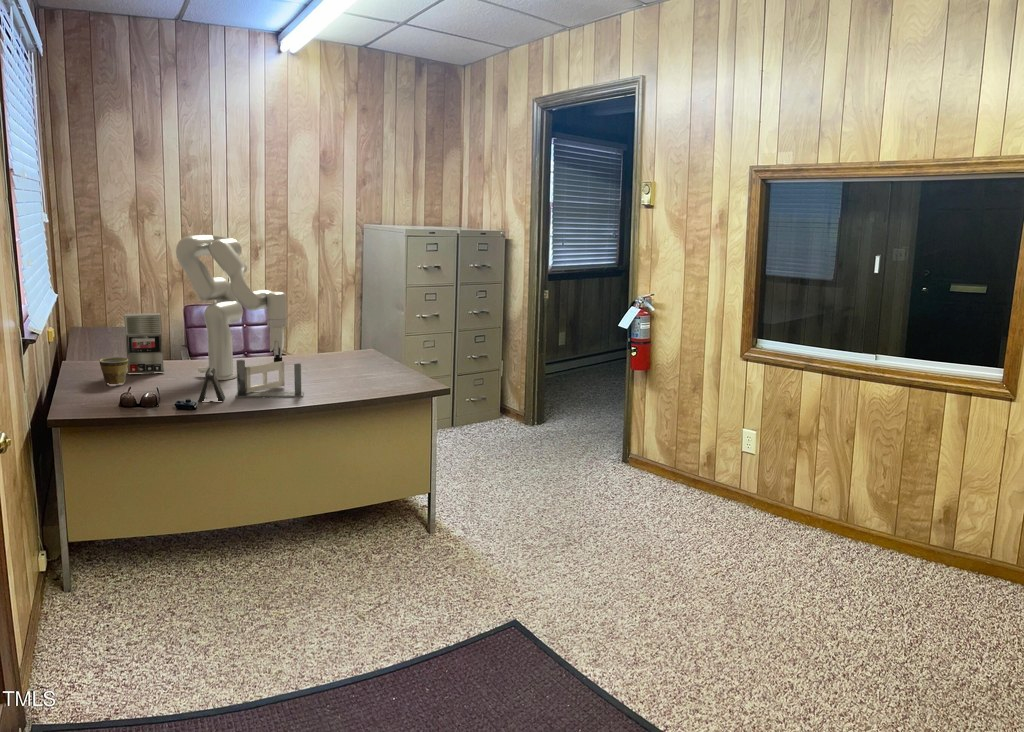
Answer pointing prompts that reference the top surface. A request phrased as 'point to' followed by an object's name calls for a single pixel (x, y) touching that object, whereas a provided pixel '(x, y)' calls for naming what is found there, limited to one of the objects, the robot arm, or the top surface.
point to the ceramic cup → (114, 369)
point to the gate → (264, 376)
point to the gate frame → (242, 392)
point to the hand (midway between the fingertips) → (278, 366)
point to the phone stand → (215, 383)
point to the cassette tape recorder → (144, 343)
